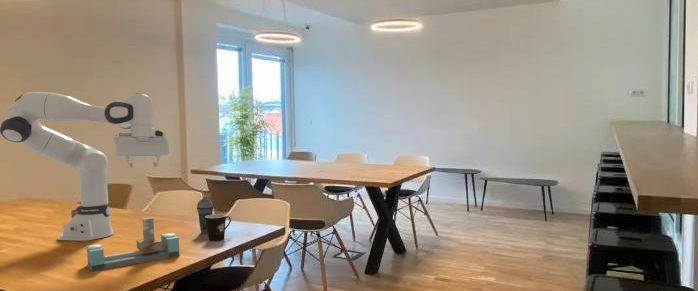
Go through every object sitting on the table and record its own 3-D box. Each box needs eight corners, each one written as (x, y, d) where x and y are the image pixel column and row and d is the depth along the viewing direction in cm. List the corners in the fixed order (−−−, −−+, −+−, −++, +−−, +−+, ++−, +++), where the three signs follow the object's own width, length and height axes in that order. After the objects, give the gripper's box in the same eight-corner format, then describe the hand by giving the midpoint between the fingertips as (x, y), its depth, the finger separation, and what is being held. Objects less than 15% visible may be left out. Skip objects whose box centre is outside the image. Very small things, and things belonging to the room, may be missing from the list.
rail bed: (91, 271, 177) (90, 250, 176) (87, 264, 185) (86, 244, 185) (180, 255, 194) (179, 236, 194) (172, 250, 202) (171, 231, 202)
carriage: (142, 252, 187) (140, 221, 186) (136, 247, 194) (135, 217, 193) (162, 249, 191) (160, 218, 190) (156, 244, 198) (154, 215, 197)
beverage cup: (209, 234, 227) (207, 190, 225) (194, 234, 228) (192, 189, 227) (217, 230, 234) (215, 187, 232) (202, 230, 235) (200, 187, 234)
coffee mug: (208, 242, 213) (207, 219, 212) (204, 238, 220) (203, 215, 220) (236, 239, 218) (235, 215, 217) (231, 234, 226) (230, 212, 225)
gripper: (115, 132, 200) (115, 167, 199) (169, 132, 210) (170, 166, 209) (113, 133, 205) (114, 168, 204) (166, 134, 215) (167, 167, 214)
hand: (143, 167), depth 207 cm, fingers open, 8 cm apart
